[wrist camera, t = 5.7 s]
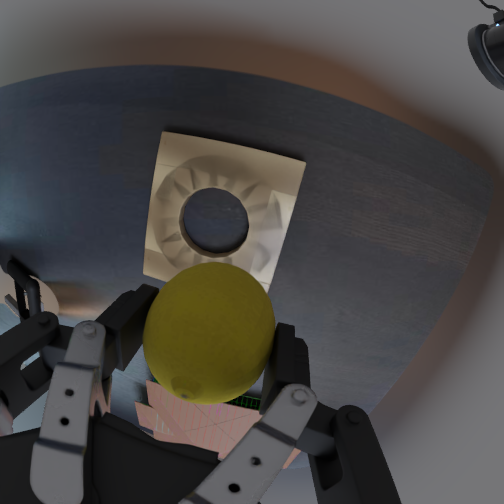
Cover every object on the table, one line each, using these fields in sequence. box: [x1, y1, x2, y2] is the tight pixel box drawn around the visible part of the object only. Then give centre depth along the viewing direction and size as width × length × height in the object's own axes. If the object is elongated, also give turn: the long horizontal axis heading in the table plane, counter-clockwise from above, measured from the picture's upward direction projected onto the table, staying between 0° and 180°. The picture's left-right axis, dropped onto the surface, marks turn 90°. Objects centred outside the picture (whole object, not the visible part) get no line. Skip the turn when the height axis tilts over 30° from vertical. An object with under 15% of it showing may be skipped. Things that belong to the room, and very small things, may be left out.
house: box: [135, 377, 301, 469], centre depth 42 cm, size 23×33×8 cm
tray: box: [143, 131, 306, 294], centre depth 31 cm, size 18×16×2 cm
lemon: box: [142, 262, 275, 405], centre depth 12 cm, size 6×6×8 cm
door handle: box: [5, 260, 44, 322], centre depth 41 cm, size 3×20×16 cm
